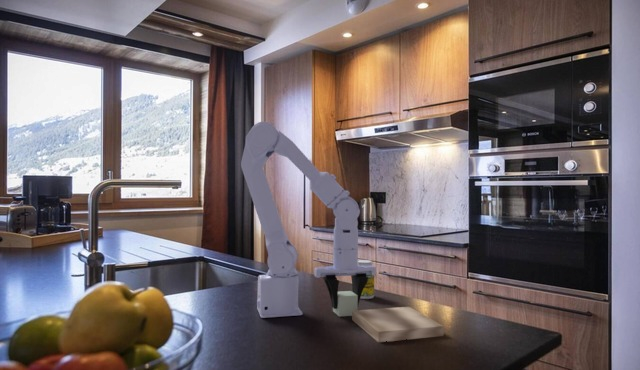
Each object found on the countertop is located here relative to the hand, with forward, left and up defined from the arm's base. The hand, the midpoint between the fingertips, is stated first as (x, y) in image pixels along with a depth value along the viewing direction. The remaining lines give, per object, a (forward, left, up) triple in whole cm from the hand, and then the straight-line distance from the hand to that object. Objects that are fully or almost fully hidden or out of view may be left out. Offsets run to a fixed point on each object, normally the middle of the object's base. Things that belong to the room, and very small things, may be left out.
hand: (344, 306), depth 96 cm
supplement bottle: (+10, +13, -2) cm, 16 cm away
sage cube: (0, 0, -1) cm, 1 cm away
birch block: (+7, -12, -2) cm, 14 cm away
